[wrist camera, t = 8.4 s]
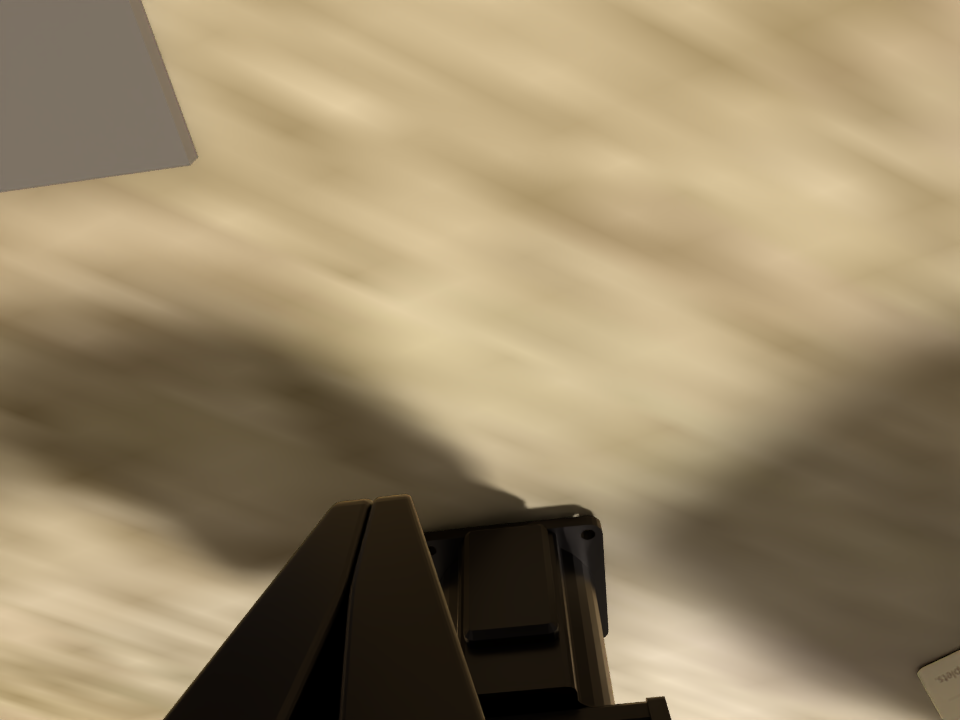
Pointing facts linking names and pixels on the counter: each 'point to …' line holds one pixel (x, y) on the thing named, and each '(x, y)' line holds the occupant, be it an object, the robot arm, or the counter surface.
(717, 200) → the counter surface
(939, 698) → the supplement box
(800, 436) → the counter surface
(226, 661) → the robot arm
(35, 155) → the rubber mat
